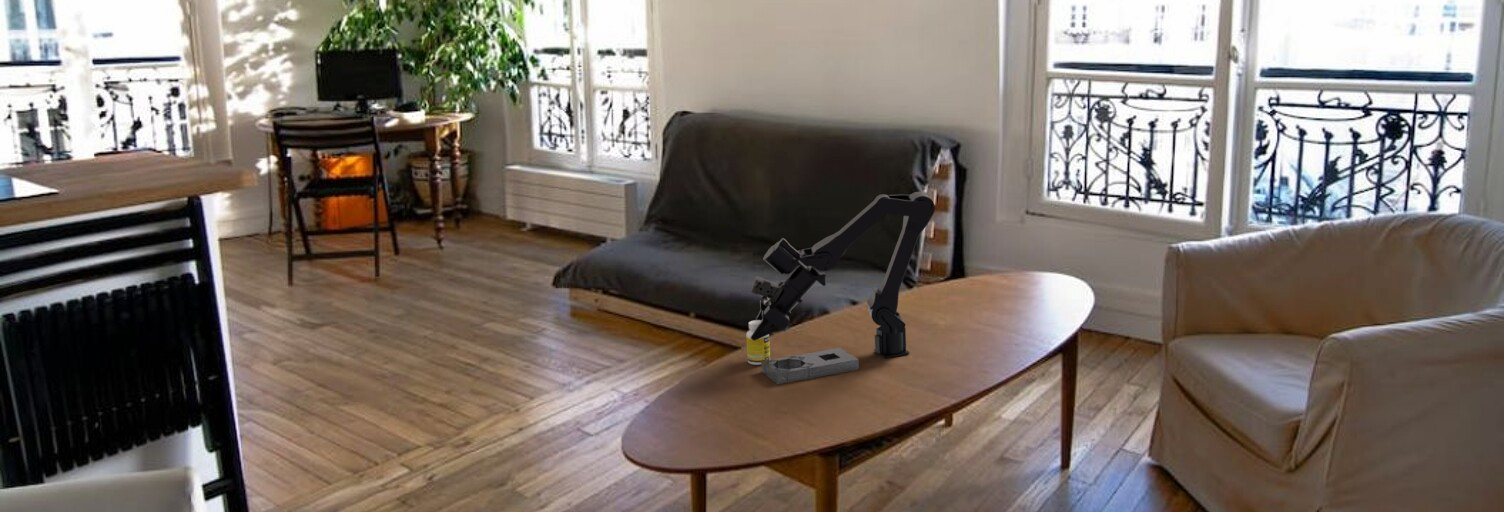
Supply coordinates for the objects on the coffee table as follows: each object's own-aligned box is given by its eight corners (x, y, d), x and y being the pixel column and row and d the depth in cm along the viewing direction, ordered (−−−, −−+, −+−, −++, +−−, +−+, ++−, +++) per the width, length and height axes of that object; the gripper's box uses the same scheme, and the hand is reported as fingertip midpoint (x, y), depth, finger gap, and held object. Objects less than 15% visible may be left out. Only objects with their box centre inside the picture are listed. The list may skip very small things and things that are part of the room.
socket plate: (840, 357, 280) (839, 347, 279) (859, 369, 270) (858, 359, 270) (760, 371, 273) (760, 361, 272) (777, 384, 263) (776, 374, 263)
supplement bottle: (768, 365, 277) (765, 325, 275) (745, 365, 278) (743, 325, 276) (772, 358, 282) (770, 318, 280) (750, 358, 283) (747, 319, 281)
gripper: (767, 256, 284) (724, 303, 286) (772, 274, 266) (726, 325, 268) (802, 285, 286) (759, 332, 288) (809, 305, 268) (763, 355, 270)
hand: (751, 335), depth 278 cm, fingers closed on supplement bottle, 5 cm apart
